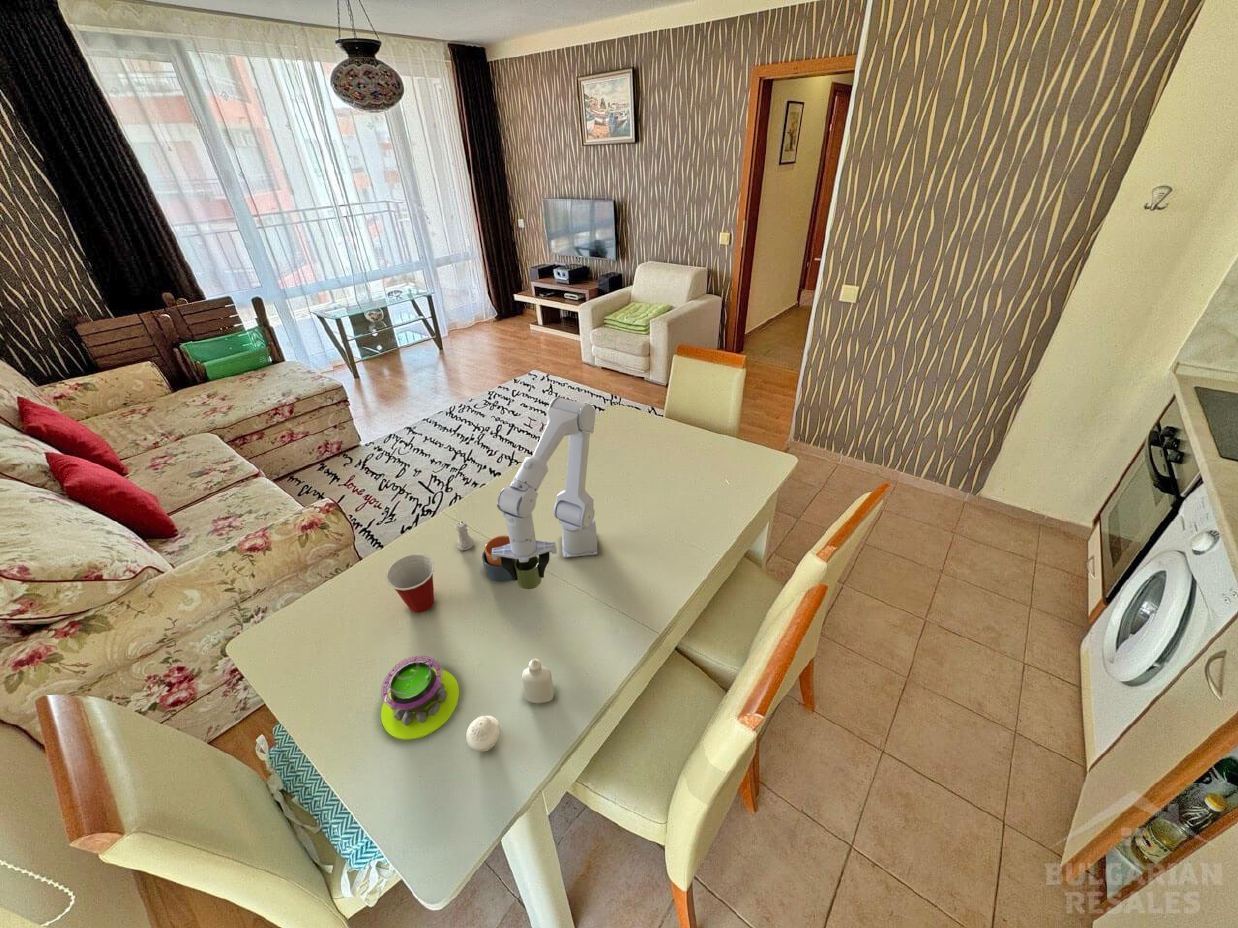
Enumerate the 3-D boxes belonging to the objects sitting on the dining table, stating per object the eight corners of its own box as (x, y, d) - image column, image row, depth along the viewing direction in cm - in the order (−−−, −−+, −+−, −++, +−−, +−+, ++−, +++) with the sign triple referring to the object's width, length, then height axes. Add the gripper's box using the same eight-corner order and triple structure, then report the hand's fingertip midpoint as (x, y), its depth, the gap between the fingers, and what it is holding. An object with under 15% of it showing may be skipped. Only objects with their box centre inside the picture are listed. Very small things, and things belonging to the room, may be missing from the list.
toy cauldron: (428, 656, 107) (416, 624, 101) (474, 692, 100) (464, 659, 94) (365, 711, 97) (347, 678, 91) (411, 755, 90) (396, 723, 84)
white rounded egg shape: (462, 752, 90) (455, 732, 86) (481, 721, 95) (475, 701, 91) (491, 764, 88) (485, 744, 84) (509, 732, 93) (504, 712, 89)
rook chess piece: (469, 552, 135) (464, 530, 130) (454, 550, 136) (449, 528, 131) (476, 541, 138) (471, 519, 134) (462, 539, 139) (456, 517, 135)
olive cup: (541, 570, 120) (539, 552, 117) (541, 588, 115) (539, 570, 112) (518, 572, 119) (514, 555, 116) (517, 590, 115) (513, 572, 111)
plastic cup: (401, 629, 114) (387, 593, 107) (396, 597, 122) (382, 562, 115) (448, 611, 118) (438, 576, 111) (440, 581, 126) (430, 547, 119)
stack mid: (521, 554, 134) (517, 534, 130) (520, 576, 127) (516, 555, 123) (490, 557, 133) (486, 537, 129) (488, 579, 126) (483, 558, 122)
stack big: (525, 551, 135) (523, 538, 132) (524, 579, 126) (521, 565, 123) (487, 555, 134) (484, 541, 131) (483, 583, 125) (479, 569, 122)
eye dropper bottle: (535, 681, 102) (528, 645, 95) (557, 692, 100) (552, 656, 93) (522, 698, 99) (514, 662, 92) (545, 711, 97) (538, 675, 90)
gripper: (487, 548, 105) (496, 592, 113) (554, 542, 106) (559, 585, 114) (490, 527, 111) (499, 570, 118) (553, 521, 112) (558, 563, 120)
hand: (528, 576), depth 117 cm, fingers closed on olive cup, 6 cm apart
